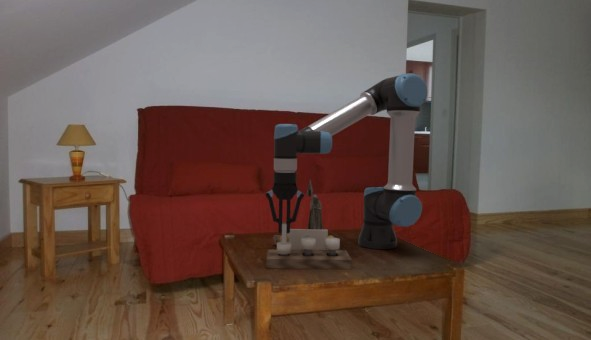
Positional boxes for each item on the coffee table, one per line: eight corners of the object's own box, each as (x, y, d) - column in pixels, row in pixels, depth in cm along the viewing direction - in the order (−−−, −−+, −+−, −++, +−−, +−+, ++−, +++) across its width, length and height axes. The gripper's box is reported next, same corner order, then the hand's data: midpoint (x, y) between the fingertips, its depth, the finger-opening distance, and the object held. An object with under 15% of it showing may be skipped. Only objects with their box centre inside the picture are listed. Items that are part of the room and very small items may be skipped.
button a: (338, 254, 144) (338, 237, 144) (340, 258, 139) (340, 240, 139) (324, 254, 144) (324, 237, 143) (325, 258, 139) (326, 240, 139)
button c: (291, 259, 144) (291, 241, 143) (291, 263, 139) (291, 245, 139) (276, 259, 144) (277, 241, 143) (276, 263, 139) (276, 245, 138)
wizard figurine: (302, 241, 173) (303, 179, 172) (298, 236, 182) (299, 178, 180) (327, 240, 175) (328, 179, 174) (322, 235, 184) (323, 178, 182)
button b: (314, 254, 144) (315, 237, 143) (315, 258, 139) (316, 240, 139) (300, 254, 144) (300, 237, 143) (301, 258, 139) (301, 240, 138)
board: (345, 258, 148) (346, 250, 148) (351, 269, 136) (351, 259, 136) (268, 258, 147) (268, 249, 147) (266, 268, 135) (266, 258, 135)
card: (334, 258, 149) (335, 229, 148) (334, 258, 147) (335, 230, 147) (279, 257, 148) (279, 228, 147) (279, 258, 147) (279, 229, 146)
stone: (284, 252, 156) (285, 238, 156) (271, 245, 166) (271, 232, 166) (305, 249, 161) (306, 236, 160) (291, 243, 170) (291, 231, 170)
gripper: (304, 171, 143) (303, 240, 145) (265, 170, 143) (264, 239, 144) (305, 172, 136) (304, 245, 137) (264, 172, 135) (263, 245, 137)
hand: (284, 242), depth 141 cm, fingers closed
